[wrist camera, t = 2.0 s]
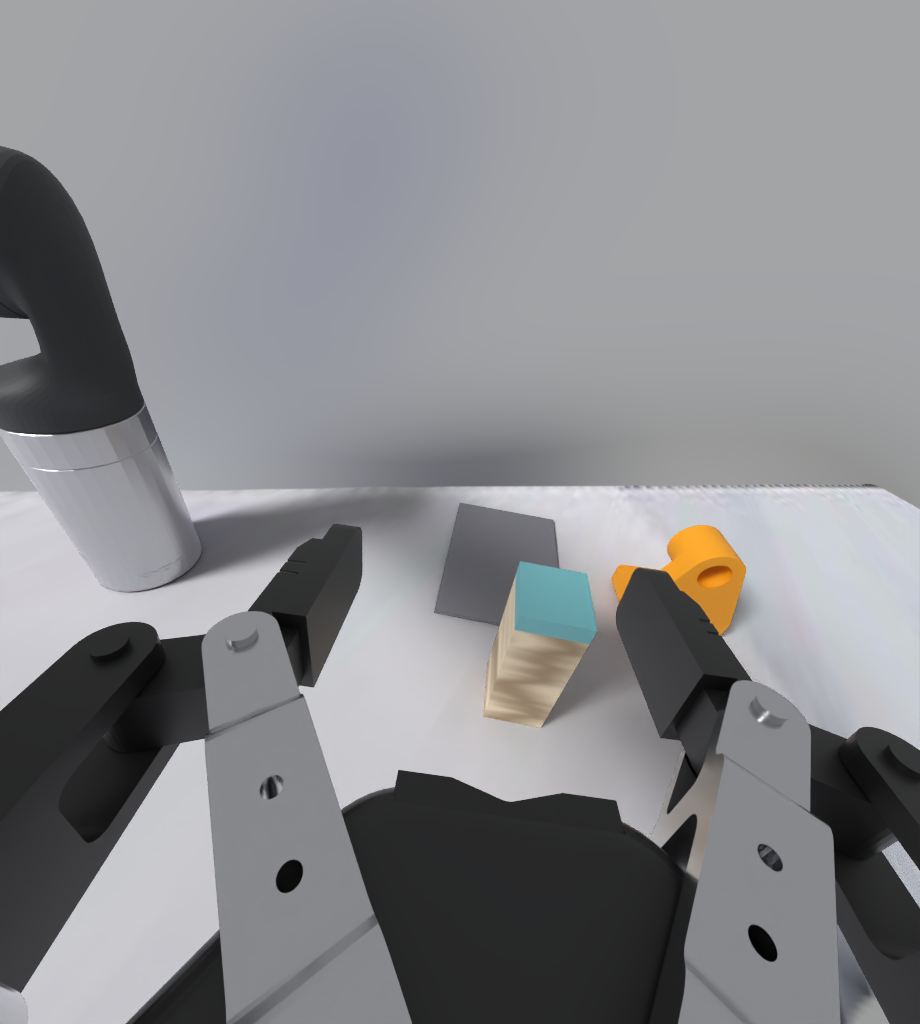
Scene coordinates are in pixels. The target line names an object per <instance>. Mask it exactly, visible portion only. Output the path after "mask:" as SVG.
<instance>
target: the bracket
mask: <svg viewBox="0 0 920 1024" xmlns="http://www.w3.org/2000/svg"><path fill="white" fill-rule="evenodd" d="M667 552H668V555H669V556H670V558H671V560H672V561H671V562H670V563H669V564H668V565H666V566H665V567H664V568H662V569H661V570H660V571H666V572H667V573H669V575H670V576H671V578H672V579H673V581H674V582H675V584H676V585H677V587H678V588H679V590H680V591H684V592H685V593H686V594H687V595H688V596H690V597H691V598H692V599H693V600H694V601H695V602H697V603H698V604H699V605H700V606H701V608H702V609H703V611H704V612H705V613H706V615H707V616H708V618H709V619H710V623H712V624H713V625H714V626H715V628H716V629H717V631H718V632H719V635H721V634H722V633H723V632H724V631H725V630H726V629H727V628H728V627H729V626H730V624H731V621H732V617H733V614H734V611H735V607H736V604H737V601H738V597H739V594H740V591H741V587H742V584H743V581H744V577H745V574H746V567H745V565H744V563H743V562H742V561H741V559H740V558H739V557H738V555H737V554H736V553H735V551H734V550H733V549H732V547H731V546H730V545H729V543H728V542H727V541H726V539H725V538H724V537H723V535H722V534H721V533H720V531H719V530H718V529H716V528H714V527H712V526H707V525H698V526H692V527H689V528H686V529H684V530H682V531H680V532H679V533H677V534H676V535H675V536H674V537H673V538H672V539H671V540H670V542H669V543H668V546H667ZM637 568H642V567H634V566H627V565H619V566H618V567H617V569H616V571H615V573H614V574H613V576H612V582H613V585H614V588H615V591H616V594H617V597H618V600H619V603H620V600H621V598H622V596H623V594H624V591H625V589H626V587H627V585H628V582H629V580H630V578H631V576H632V574H633V572H634V570H635V569H637ZM646 569H649V568H646ZM653 570H656V569H653Z"/></svg>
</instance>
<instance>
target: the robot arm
mask: <svg viewBox="0 0 920 1024" xmlns="http://www.w3.org/2000/svg"><path fill="white" fill-rule="evenodd" d="M0 317H5V318H20V319H22V318H23V319H30V322H31V324H32V326H33V328H34V330H35V334H36V337H37V339H38V342H39V345H40V349H41V353H39V354H37V355H35V356H31V357H28V358H24V359H20V360H17V361H14V362H11V363H7V364H4V365H1V366H0V436H1V438H2V439H3V441H4V442H5V443H6V445H7V447H8V448H9V450H10V451H11V452H12V454H13V455H14V457H15V458H16V459H17V461H18V462H19V464H20V465H21V467H22V468H23V470H24V471H25V473H26V474H27V476H28V477H29V478H30V480H31V482H32V483H33V485H34V486H35V488H36V489H37V491H38V492H39V493H40V495H41V496H42V498H43V499H44V501H45V502H46V504H47V505H48V507H49V508H50V510H51V511H52V513H53V514H54V516H55V517H56V519H57V520H58V522H59V523H60V525H61V526H62V528H63V529H64V530H65V532H66V533H67V535H68V536H69V538H70V539H71V541H72V542H73V544H74V545H75V547H76V548H77V550H78V551H79V553H80V555H81V556H82V557H83V559H84V560H85V562H86V563H87V565H88V566H89V568H90V569H91V570H92V572H93V573H94V575H95V576H96V578H97V579H98V581H99V582H100V583H101V584H102V585H103V586H105V587H106V588H108V589H112V590H115V591H123V592H131V591H141V590H147V589H151V588H154V587H158V586H161V585H163V584H166V583H168V582H170V581H172V580H174V579H176V578H178V577H180V576H181V575H183V574H184V573H185V572H187V571H188V570H189V569H190V568H191V567H192V566H193V565H194V564H195V563H196V562H197V560H198V559H199V557H200V555H201V552H202V546H201V543H200V540H199V538H198V535H197V533H196V530H195V528H194V525H193V523H192V520H191V517H190V514H189V512H188V509H187V507H186V504H185V502H184V499H183V497H182V494H181V492H180V489H179V487H178V484H177V481H176V479H175V477H174V474H173V471H172V469H171V466H170V464H169V461H168V459H167V456H166V454H165V451H164V449H163V446H162V444H161V441H160V439H159V436H158V433H157V432H156V429H155V427H154V424H153V422H152V419H151V416H150V414H149V411H148V409H147V406H146V404H145V401H144V399H143V396H142V394H141V391H140V389H139V386H138V382H137V378H136V374H135V369H134V365H133V361H132V357H131V354H130V351H129V348H128V345H127V342H126V340H125V337H124V334H123V331H122V329H121V326H120V323H119V320H118V317H117V314H116V312H115V308H114V305H113V302H112V299H111V296H110V293H109V289H108V286H107V283H106V280H105V277H104V273H103V270H102V267H101V264H100V261H99V258H98V255H97V252H96V250H95V247H94V244H93V241H92V239H91V236H90V234H89V232H88V229H87V227H86V225H85V222H84V220H83V218H82V216H81V214H80V213H79V211H78V209H77V207H76V205H75V204H74V202H73V200H72V199H71V197H70V196H69V194H68V193H67V191H66V190H65V189H64V187H63V186H62V184H61V183H60V182H59V181H58V179H57V178H56V177H55V176H54V175H53V174H52V173H51V172H50V171H49V170H48V169H47V168H46V167H45V166H44V165H42V164H41V163H40V162H38V161H37V160H35V159H34V158H33V157H30V156H29V155H27V154H24V153H22V152H20V151H17V150H14V149H10V148H6V147H2V146H0ZM361 577H362V530H361V528H360V527H354V526H347V525H340V524H333V525H332V527H331V528H330V529H329V531H328V532H327V534H326V535H325V536H324V538H323V539H315V538H312V539H311V540H309V541H307V542H306V543H304V544H302V545H301V546H299V547H297V549H296V550H295V551H294V552H293V554H292V555H291V556H290V558H289V559H288V562H286V563H285V564H284V565H283V567H282V568H281V569H280V572H279V573H277V574H276V575H275V577H274V578H273V579H272V581H271V582H270V583H269V584H268V586H267V587H266V588H265V590H264V591H263V592H262V593H261V595H260V596H259V597H258V598H257V600H256V601H255V602H254V604H253V605H252V606H251V607H250V609H249V610H248V611H247V612H242V613H237V614H234V615H232V616H229V617H227V618H225V619H223V620H221V621H220V622H218V623H217V624H216V625H214V626H213V627H212V628H211V629H210V630H209V631H208V632H207V634H204V635H198V636H189V637H181V638H172V639H163V640H160V639H159V637H158V634H157V632H156V630H155V629H154V627H152V626H151V625H149V624H146V623H141V622H127V623H121V624H116V625H112V626H109V627H106V628H103V629H101V630H99V631H96V632H94V633H92V634H90V635H89V636H87V637H85V638H84V639H82V640H81V641H79V642H78V643H77V644H75V645H74V646H73V647H72V648H71V649H70V650H68V651H67V652H66V653H65V654H64V655H63V656H62V657H61V658H59V659H58V660H57V661H56V662H55V663H54V664H53V665H52V666H50V667H49V668H48V669H47V670H46V671H45V672H44V673H43V674H41V675H40V676H39V677H38V678H37V679H36V680H35V681H34V682H33V683H31V684H30V685H29V686H28V687H27V688H26V689H25V690H24V691H22V692H21V693H20V694H19V695H18V696H17V697H16V698H15V699H13V700H12V701H11V702H10V703H9V704H8V705H7V706H6V707H4V708H3V709H2V710H1V711H0V1024H27V1021H28V1011H27V1005H26V1002H25V999H24V997H23V996H22V995H21V994H20V993H21V992H22V990H23V989H24V987H25V986H26V984H27V983H28V981H29V979H30V978H31V976H32V975H33V973H34V972H35V970H36V968H37V967H38V965H39V964H40V962H41V961H42V959H43V957H44V956H45V954H46V953H47V951H48V950H49V948H50V946H51V945H52V943H53V942H54V940H55V939H56V937H57V935H58V934H59V932H60V931H61V929H62V928H63V926H64V924H65V923H66V921H67V920H68V918H69V917H70V915H71V913H72V912H73V910H74V909H75V907H76V906H77V904H78V902H79V901H80V899H81V898H82V896H83V895H84V893H85V891H86V890H87V888H88V887H89V885H90V884H91V882H92V881H93V879H94V877H95V876H96V874H97V873H98V871H99V870H100V868H101V866H102V865H103V863H104V862H105V860H106V859H107V857H108V855H109V854H110V852H111V851H112V849H113V848H114V846H115V844H116V843H117V841H118V840H119V838H120V837H121V835H122V833H123V832H124V830H125V829H126V827H127V826H128V824H129V822H130V821H131V819H132V818H133V816H134V815H135V813H136V811H137V810H138V808H139V807H140V805H141V804H142V802H143V800H144V799H145V797H146V796H147V794H148V793H149V791H150V790H151V788H152V786H153V785H154V783H155V782H156V780H157V779H158V777H159V775H160V774H161V772H162V771H163V769H164V768H165V766H166V764H167V763H168V761H169V760H170V758H171V757H172V755H173V753H174V752H175V750H176V749H177V747H178V746H179V744H180V743H183V742H188V741H194V740H199V739H205V756H206V768H207V781H208V793H209V805H210V817H211V830H212V842H213V854H214V867H215V879H216V891H217V903H218V916H219V928H220V929H219V930H218V931H217V932H216V933H215V934H214V935H213V936H212V937H211V938H210V939H209V940H208V941H207V942H206V943H205V944H204V945H203V946H202V947H201V948H200V949H199V950H198V951H197V953H196V954H195V955H194V956H193V957H192V958H191V959H190V960H189V961H188V962H187V963H186V964H185V965H184V966H183V967H182V968H181V969H180V970H179V971H178V972H177V973H176V974H175V975H174V976H173V977H172V978H171V979H170V980H169V981H168V982H167V983H166V984H165V985H164V986H163V987H162V988H161V989H160V990H159V991H158V992H157V993H156V994H155V995H154V996H153V997H152V998H151V999H150V1000H149V1001H148V1002H147V1003H146V1004H145V1005H144V1006H143V1007H142V1008H141V1009H140V1010H139V1011H138V1012H137V1013H136V1014H135V1015H134V1016H133V1017H132V1018H131V1019H130V1020H129V1021H128V1022H127V1023H126V1024H840V998H839V972H838V946H837V923H838V925H839V927H840V929H841V931H842V933H843V935H844V937H845V939H846V941H847V942H848V944H849V946H850V948H851V950H852V952H853V954H854V956H855V958H856V960H857V962H858V964H859V966H860V967H861V969H862V971H863V973H864V975H865V977H866V979H867V981H868V983H869V985H870V987H871V989H872V990H873V992H874V994H875V996H876V998H877V1000H878V1002H879V1004H880V1006H881V1008H882V1010H883V1011H884V1013H885V1015H886V1017H887V1019H888V1021H889V1023H890V1024H920V908H919V906H918V905H917V903H916V902H915V900H914V899H913V897H912V896H911V894H910V893H909V891H908V890H907V888H906V887H905V885H904V884H903V882H902V881H901V879H900V878H899V876H898V875H897V874H896V872H895V871H894V869H893V868H892V866H891V865H890V863H889V862H888V860H887V859H886V857H885V856H884V854H883V853H882V850H884V849H885V848H887V847H889V846H890V845H892V844H893V843H895V842H897V841H899V842H900V843H901V845H902V846H903V848H904V849H905V850H906V852H907V853H908V855H909V856H910V857H911V859H912V860H913V862H914V863H915V864H916V866H917V867H918V869H919V870H920V750H918V749H917V748H915V747H914V746H912V745H911V744H909V743H908V742H906V741H904V740H903V739H901V738H899V737H897V736H895V735H893V734H891V733H889V732H886V731H884V730H881V729H877V728H873V727H862V728H860V729H858V730H857V731H856V732H855V733H854V734H853V735H852V736H851V737H850V738H848V739H845V738H843V737H840V736H838V735H835V734H833V733H830V732H828V731H825V730H823V729H820V728H818V727H815V726H812V725H810V724H808V723H807V721H806V719H805V718H804V716H803V715H802V714H801V713H800V711H799V710H798V709H797V708H796V707H795V706H794V705H793V704H792V703H791V702H790V701H788V700H787V699H786V698H785V697H783V696H782V695H780V694H779V693H778V692H776V691H774V690H773V689H771V688H769V687H767V686H765V685H762V684H760V683H757V682H753V681H752V680H751V678H750V677H749V676H748V674H747V673H746V671H745V670H744V668H743V667H742V665H741V664H740V663H739V661H738V660H737V658H736V657H735V655H734V654H733V652H732V651H731V650H730V648H729V647H728V645H727V644H726V642H725V641H724V639H723V638H722V637H721V636H719V632H718V631H717V629H716V628H715V626H714V625H713V624H712V623H710V619H709V618H708V616H707V615H706V613H705V612H704V611H703V609H702V608H701V606H700V605H699V604H698V603H697V602H695V601H694V600H693V599H692V598H691V597H690V596H688V595H687V594H686V593H685V592H684V591H680V590H679V588H678V587H677V585H676V584H675V582H674V581H673V579H672V578H671V576H670V575H669V573H667V572H666V571H660V570H653V569H646V568H637V569H635V570H634V572H633V574H632V576H631V578H630V580H629V582H628V585H627V587H626V589H625V591H624V594H623V596H622V598H621V600H620V603H619V605H618V608H617V612H616V624H617V628H618V631H619V634H620V636H621V639H622V641H623V644H624V646H625V649H626V651H627V654H628V656H629V659H630V662H631V664H632V667H633V669H634V672H635V674H636V677H637V679H638V682H639V685H640V687H641V690H642V692H643V695H644V697H645V700H646V702H647V705H648V708H649V710H650V713H651V715H652V718H653V720H654V723H655V725H656V728H657V731H658V733H659V736H660V738H666V739H673V740H680V741H681V742H682V745H683V747H684V750H683V751H682V753H681V754H680V756H679V758H678V761H677V764H676V767H675V770H674V773H673V776H672V779H671V782H670V785H669V788H668V791H667V794H666V797H665V800H664V803H663V806H662V809H661V812H660V815H659V818H658V821H657V823H656V825H655V828H654V830H653V832H652V833H651V835H650V837H649V838H647V837H646V836H645V835H643V834H642V833H641V832H639V831H637V830H635V829H634V828H632V827H630V826H629V825H627V824H625V823H623V822H621V818H620V814H619V810H618V806H617V802H616V801H615V800H608V799H601V798H593V797H586V796H579V795H572V794H565V793H561V794H555V795H549V796H543V797H538V798H532V799H526V800H521V801H515V802H507V801H503V800H501V799H499V798H496V797H494V796H492V795H490V794H487V793H485V792H483V791H481V790H479V789H476V788H474V787H472V786H470V785H467V784H465V783H463V782H461V781H459V780H456V779H454V778H452V777H445V776H438V775H431V774H424V773H416V772H409V771H402V770H398V775H397V780H396V785H395V787H393V788H388V789H383V790H380V791H377V792H373V793H370V794H368V795H366V796H364V797H362V798H360V799H357V800H356V801H354V802H352V803H351V804H349V805H348V806H346V807H344V808H343V809H342V810H340V807H339V803H338V800H337V797H336V794H335V791H334V788H333V784H332V781H331V778H330V775H329V772H328V769H327V766H326V762H325V759H324V756H323V753H322V750H321V747H320V744H319V740H318V737H317V734H316V731H315V728H314V725H313V721H312V718H311V715H310V712H309V709H308V706H307V703H306V700H305V698H304V695H303V694H300V692H299V689H298V687H299V685H301V686H308V687H314V686H315V684H316V682H317V679H318V677H319V675H320V673H321V671H322V668H323V666H324V664H325V662H326V660H327V657H328V655H329V653H330V651H331V649H332V646H333V644H334V642H335V640H336V638H337V636H338V633H339V631H340V629H341V627H342V625H343V622H344V620H345V618H346V616H347V614H348V611H349V609H350V607H351V605H352V603H353V600H354V598H355V596H356V594H357V592H358V589H359V586H360V582H361Z"/></svg>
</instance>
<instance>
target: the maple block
mask: <svg viewBox="0 0 920 1024" xmlns="http://www.w3.org/2000/svg"><path fill="white" fill-rule="evenodd" d="M597 631H598V630H597V625H596V620H595V614H594V609H593V604H592V598H591V593H590V587H589V582H588V577H587V574H586V573H580V572H575V571H570V570H564V569H559V568H554V567H548V566H543V565H538V564H532V563H527V562H522V561H520V563H519V566H518V569H517V572H516V575H515V579H514V582H513V585H512V588H511V591H510V594H509V598H508V601H507V604H506V607H505V610H504V613H503V617H502V620H501V623H500V626H499V629H498V632H497V636H496V639H495V642H494V645H493V648H492V651H491V655H490V658H489V661H488V666H487V678H486V690H485V702H484V714H483V716H484V717H489V718H494V719H499V720H504V721H509V722H514V723H519V724H524V725H529V726H534V727H539V728H541V727H542V725H543V723H544V722H545V720H546V718H547V716H548V715H549V713H550V711H551V710H552V708H553V706H554V704H555V703H556V701H557V699H558V698H559V696H560V694H561V692H562V691H563V689H564V687H565V686H566V684H567V682H568V681H569V679H570V677H571V675H572V674H573V672H574V670H575V669H576V667H577V665H578V663H579V662H580V660H581V658H582V657H583V655H584V653H585V652H586V650H587V648H588V646H589V645H590V643H591V641H592V640H593V638H594V636H595V634H596V633H597Z"/></svg>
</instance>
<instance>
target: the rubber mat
mask: <svg viewBox="0 0 920 1024" xmlns="http://www.w3.org/2000/svg"><path fill="white" fill-rule="evenodd" d="M520 561H522V562H527V563H532V564H538V565H543V566H548V567H554V568H558V561H557V551H556V542H555V532H554V522H553V520H551V519H545V518H540V517H535V516H529V515H524V514H518V513H513V512H508V511H502V510H497V509H491V508H486V507H480V506H475V505H470V504H464V503H460V505H459V509H458V513H457V517H456V522H455V526H454V530H453V534H452V539H451V543H450V547H449V551H448V556H447V560H446V564H445V568H444V573H443V577H442V581H441V585H440V590H439V594H438V598H437V602H436V607H435V611H434V613H439V614H444V615H449V616H454V617H459V618H464V619H470V620H475V621H480V622H485V623H490V624H495V625H500V623H501V620H502V617H503V613H504V610H505V607H506V604H507V601H508V598H509V594H510V591H511V588H512V585H513V582H514V579H515V575H516V572H517V569H518V566H519V563H520Z"/></svg>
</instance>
